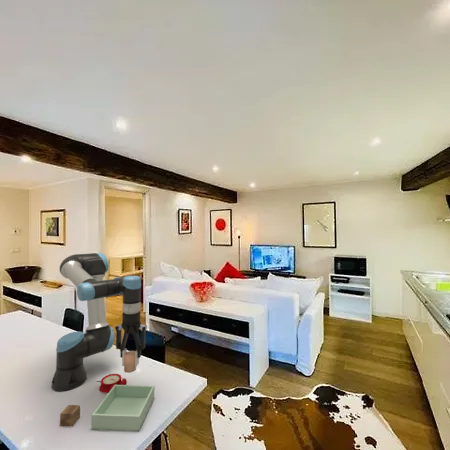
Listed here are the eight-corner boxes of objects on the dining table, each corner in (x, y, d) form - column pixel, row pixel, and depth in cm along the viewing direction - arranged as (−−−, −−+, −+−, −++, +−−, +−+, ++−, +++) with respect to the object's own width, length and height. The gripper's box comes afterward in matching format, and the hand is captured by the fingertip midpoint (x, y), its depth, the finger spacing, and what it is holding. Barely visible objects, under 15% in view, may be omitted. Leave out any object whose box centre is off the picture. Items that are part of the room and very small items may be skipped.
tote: (91, 429, 100) (91, 415, 100) (114, 397, 119) (114, 384, 119) (138, 431, 99) (139, 416, 99) (154, 398, 119) (154, 385, 119)
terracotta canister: (122, 372, 111) (122, 355, 111) (126, 366, 116) (127, 350, 116) (133, 372, 111) (133, 356, 111) (137, 366, 116) (138, 350, 116)
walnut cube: (59, 426, 101) (60, 413, 101) (68, 417, 106) (68, 404, 106) (72, 426, 101) (72, 413, 101) (79, 417, 106) (80, 405, 106)
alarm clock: (111, 371, 135) (131, 372, 128) (113, 383, 134) (133, 385, 127) (93, 381, 126) (113, 383, 119) (94, 394, 125) (115, 397, 118)
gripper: (107, 314, 111) (106, 368, 110) (148, 314, 110) (148, 369, 110) (115, 308, 118) (114, 360, 118) (154, 309, 118) (153, 360, 117)
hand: (130, 364), depth 114 cm, fingers closed on terracotta canister, 5 cm apart
